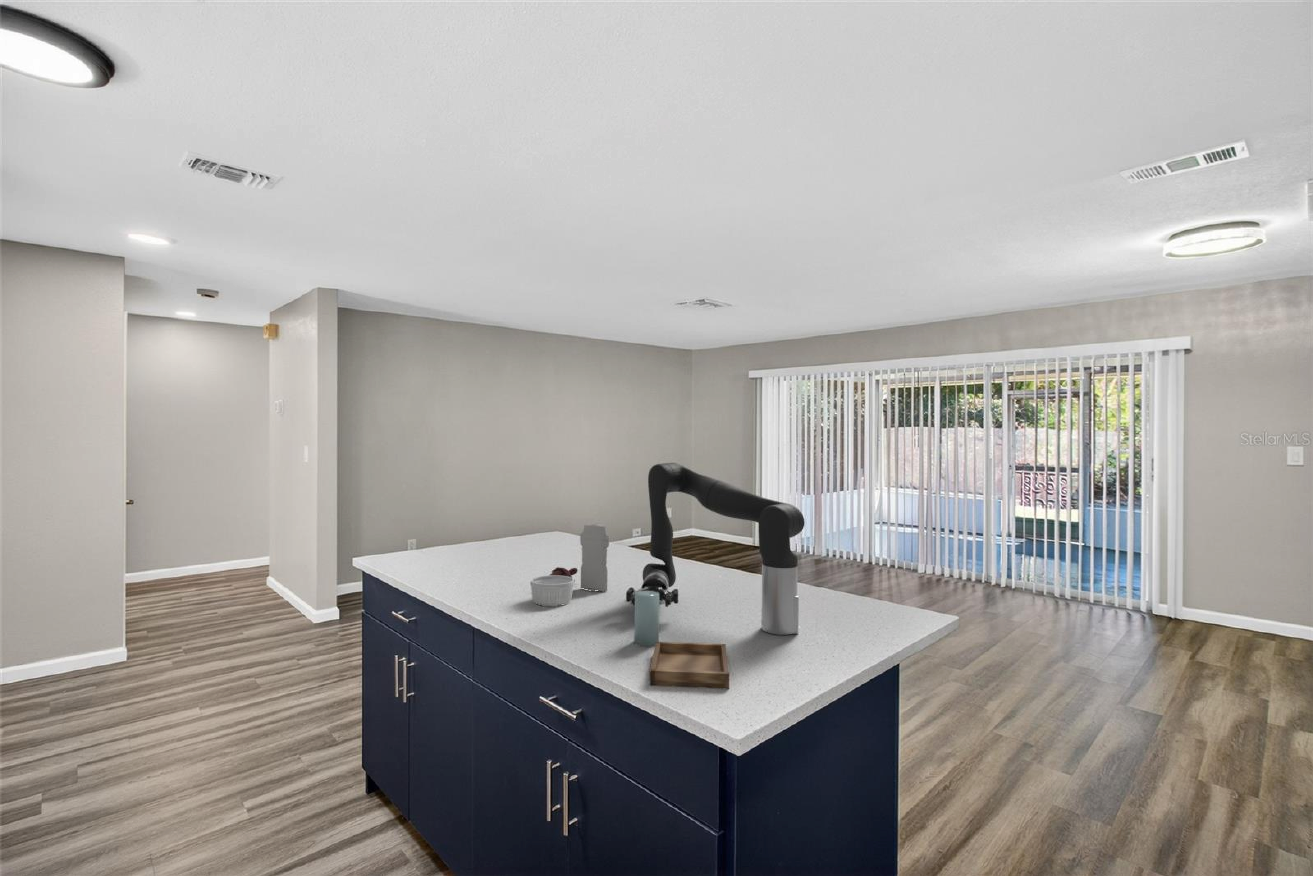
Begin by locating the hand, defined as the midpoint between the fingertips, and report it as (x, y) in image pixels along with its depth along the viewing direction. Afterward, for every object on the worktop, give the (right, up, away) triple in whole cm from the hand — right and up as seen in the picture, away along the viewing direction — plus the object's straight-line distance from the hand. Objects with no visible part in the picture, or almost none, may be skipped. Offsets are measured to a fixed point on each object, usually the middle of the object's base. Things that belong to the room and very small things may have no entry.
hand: (650, 602), depth 160 cm
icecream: (-31, -7, +44) cm, 54 cm away
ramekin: (-30, -7, +25) cm, 40 cm away
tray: (+9, -7, -29) cm, 31 cm away
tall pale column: (-19, -7, +41) cm, 46 cm away
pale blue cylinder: (-1, -7, -11) cm, 13 cm away
